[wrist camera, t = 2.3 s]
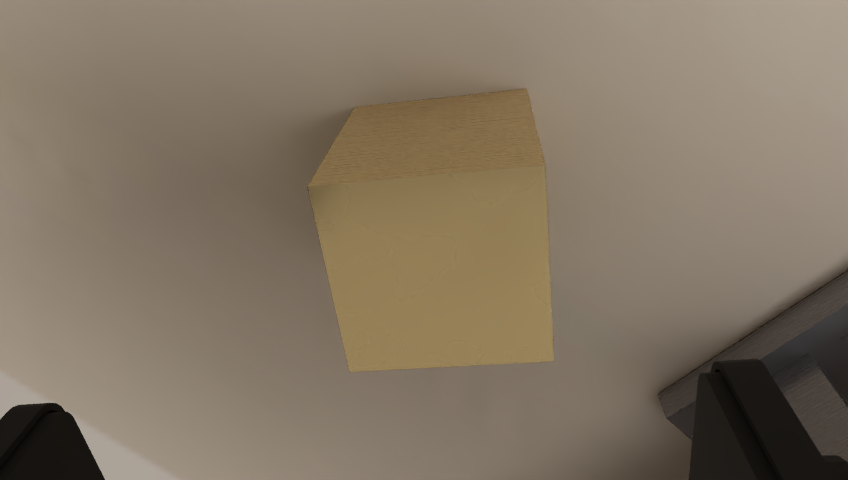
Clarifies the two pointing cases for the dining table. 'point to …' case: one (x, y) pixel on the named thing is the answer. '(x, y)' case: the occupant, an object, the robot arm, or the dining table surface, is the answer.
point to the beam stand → (792, 367)
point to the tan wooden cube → (437, 233)
